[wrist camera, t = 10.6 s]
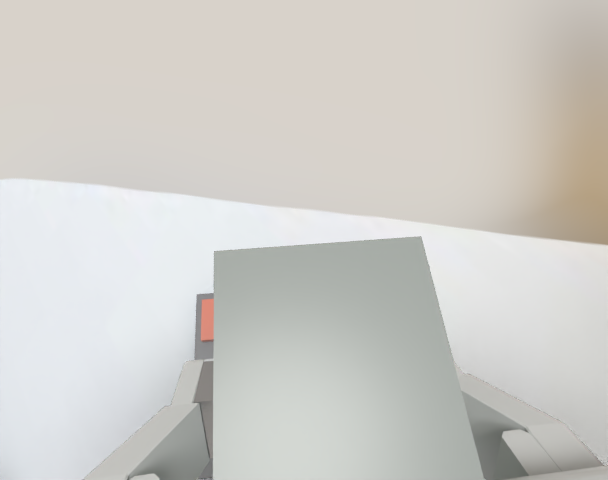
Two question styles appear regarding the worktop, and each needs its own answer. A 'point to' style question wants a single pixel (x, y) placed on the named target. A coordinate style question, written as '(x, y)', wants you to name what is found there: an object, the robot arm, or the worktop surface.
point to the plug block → (335, 367)
